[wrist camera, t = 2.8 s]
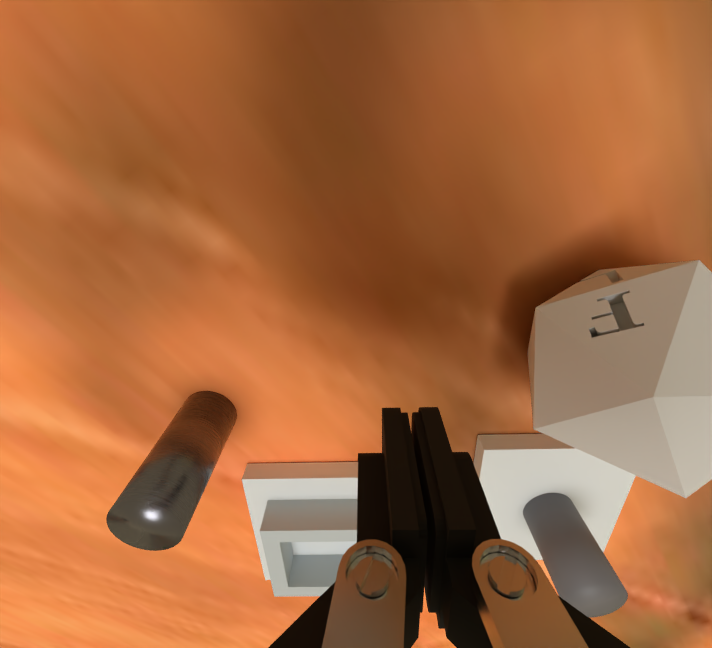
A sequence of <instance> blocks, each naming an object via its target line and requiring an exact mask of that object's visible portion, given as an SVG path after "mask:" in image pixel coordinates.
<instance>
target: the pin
mask: <svg viewBox="0 0 712 648" xmlns="http://www.w3.org/2000/svg"><path fill="white" fill-rule="evenodd" d="M236 418H237V413H236V409H235V407H234V406H233V404H232V403H231V402H230V401H229V400H228V399H227V398H226V397H224V396H222V395H220V394H218V393H215V392H210V391H201V392H197V393H194V394H192V395H191V396H190V397H188V399H187V400H186V401H185V403H184V404H183V406H182V407H181V408H180V410H179V411H178V413H177V414H176V416H175V417H174V419H173V420H172V421H171V423H170V424H169V426H168V427H167V429H166V430H165V431H164V433H163V434H162V436H161V437H160V439H159V440H158V442H157V443H156V444H155V446H154V447H153V449H152V450H151V452H150V453H149V455H148V456H147V457H146V459H145V460H144V462H143V463H142V465H141V466H140V467H139V469H138V470H137V472H136V473H135V475H134V476H133V478H132V479H131V480H130V482H129V483H128V485H127V486H126V488H125V489H124V491H123V492H122V493H121V495H120V496H119V498H118V499H117V501H116V502H115V503H114V505H113V506H112V508H111V509H110V511H109V512H108V514H107V525H108V527H109V529H110V531H111V532H112V533H113V534H114V535H115V536H116V537H117V538H118V539H120V540H121V541H123V542H124V543H126V544H128V545H131V546H133V547H136V548H140V549H144V550H155V551H156V550H165V549H169V548H171V547H174V546H175V545H177V544H178V543H179V542H180V541H181V539H182V537H183V535H184V533H185V531H186V529H187V527H188V524H189V522H190V520H191V518H192V516H193V513H194V511H195V509H196V507H197V505H198V502H199V500H200V498H201V496H202V494H203V492H204V489H205V487H206V485H207V483H208V481H209V478H210V476H211V474H212V472H213V470H214V468H215V465H216V463H217V461H218V459H219V457H220V454H221V452H222V450H223V448H224V446H225V443H226V441H227V439H228V437H229V435H230V433H231V430H232V428H233V426H234V424H235V421H236Z"/></svg>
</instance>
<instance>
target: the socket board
mask: <svg viewBox="0 0 712 648" xmlns="http://www.w3.org/2000/svg"><path fill="white" fill-rule="evenodd" d="M242 483H243V487H244V491H245V495H246V500H247V504H248V508H249V512H250V517H251V521H252V525H253V529H254V534H255V538H256V542H257V546H258V551H259V555H260V559H261V563H262V568H263V572H264V576H265V580H271V584H272V588H273V593H274V596H321V595H322V594H323V593H324V592H325V591H326V590H327V589H328V588H329V587H330V586H331V585H332V584H333V583H334V582H335V581H336V577H337V572H338V567H339V564H340V561H341V559H342V556H343V555H344V554H345V552H346V551H347V550H348V548H350V547H351V546H353V545H354V544H355V543H357V494H358V462H311V463H249V464H247V466H246V469H245V472H244V475H243V477H242Z"/></svg>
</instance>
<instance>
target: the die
mask: <svg viewBox="0 0 712 648" xmlns="http://www.w3.org/2000/svg"><path fill="white" fill-rule="evenodd" d="M528 365H529V378H530V391H531V404H532V417H533V429H534V430H537V431H539V432H541V433H543V434H545V435H548V436H550V437H552V438H554V439H556V440H559V441H561V442H563V443H565V444H567V445H570V446H572V447H574V448H576V449H579V450H581V451H583V452H585V453H587V454H590V455H592V456H594V457H596V458H598V459H601V460H603V461H605V462H607V463H609V464H612V465H614V466H616V467H618V468H621V469H623V470H625V471H627V472H629V473H632V474H634V475H636V476H638V477H640V478H643V479H645V480H647V481H649V482H651V483H654V484H656V485H658V486H660V487H662V488H665V489H667V490H669V491H671V492H674V493H676V494H678V495H680V496H682V497H685V498H687V497H688V496H689V495H691V494H692V493H694V492H695V491H696V490H698V489H699V488H700V487H702V486H703V485H705V484H706V483H707V482H709V481H710V480H711V479H712V272H711V271H710V270H709V269H708V268H707V267H706V266H705V265H704V264H703V263H702V262H701V261H700V260H693V261H683V262H673V263H663V264H653V265H643V266H632V267H622V268H612V269H602V270H598V271H596V272H594V273H592V274H591V275H589V276H587V277H586V278H584V279H582V280H581V281H580V282H578V283H576V284H574V285H572V286H571V287H569V288H567V289H566V290H564V291H562V292H561V293H559V294H557V295H556V296H554V297H552V298H551V299H549V300H547V301H546V302H544V303H542V304H541V305H539V306H537V307H536V308H535V313H534V319H533V324H532V330H531V336H530V341H529V347H528Z"/></svg>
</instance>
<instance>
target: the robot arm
mask: <svg viewBox="0 0 712 648" xmlns="http://www.w3.org/2000/svg"><path fill="white" fill-rule="evenodd" d="M424 587H425V594H426V600H427V607H428V611H429V612H436V614H437V620H438V626H439V628H445V631H446V637H447V638H448V639H449V640H450V641H451V642H452V643H453V644H454V645H455V646H456V647H457V648H630V647H629V646H627V645H626V644H624V643H623V642H622V641H620V640H619V639H618V638H616V637H615V636H613V635H612V634H611V633H609V632H608V631H606V630H605V629H604V628H602V627H601V626H600V625H598V624H597V623H595V622H594V621H593V620H591V619H590V618H588V617H587V616H586V615H584V614H583V613H582V612H580V611H579V610H577V609H576V608H575V607H573V606H572V605H570V604H569V603H568V602H566V601H565V600H564V599H562V598H561V597H559V596H558V595H557V594H556V592H555V590H554V588H553V587H552V585H551V583H550V582H549V580H548V578H547V577H546V575H545V573H544V572H543V570H542V568H541V567H540V565H539V564H538V562H537V561H536V560H535V559H534V557H533V556H532V555H531V554H530V553H529V552H527V551H526V550H525V549H524V548H523V547H521V546H519V545H517V544H515V543H513V542H511V541H507V540H503V539H501V537H500V534H499V531H498V529H497V526H496V523H495V521H494V518H493V515H492V513H491V510H490V507H489V504H488V502H487V499H486V496H485V494H484V491H483V488H482V486H481V483H480V480H479V478H478V475H477V472H476V469H475V467H474V464H473V461H472V459H471V456H470V454H469V453H468V452H452V450H451V447H450V444H449V441H448V437H447V434H446V431H445V428H444V425H443V421H442V418H441V415H440V412H439V409H438V407H420V408H419V412H413V413H412V431H411V430H410V424H409V418H408V413H401V410H400V408H382V453H358V494H357V543H355V544H354V545H353V546H351V547H350V548H348V550H347V551H346V552H345V554H344V555H343V556H342V559H341V561H340V564H339V567H338V572H337V577H336V581H335V582H334V583H333V584H332V585H331V586H330V587H329V588H328V589H327V590H326V591H325V592H324V593H323V594H322V595H321V596H320V597H319V598H318V599H317V600H316V601H315V602H314V603H313V604H312V605H311V606H310V607H309V608H308V609H307V610H306V611H305V612H304V613H303V614H302V615H301V616H300V617H299V618H298V619H297V620H296V621H295V622H294V623H293V624H292V625H291V626H290V627H289V628H288V629H287V630H286V631H285V632H284V633H283V634H282V635H281V636H280V637H279V638H278V639H277V640H276V641H275V642H274V643H273V644H272V645H271V646H270V647H269V648H411V647H412V645H413V644H414V643H415V641H416V640H417V638H418V634H419V619H420V612H422V609H423V595H424Z"/></svg>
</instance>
